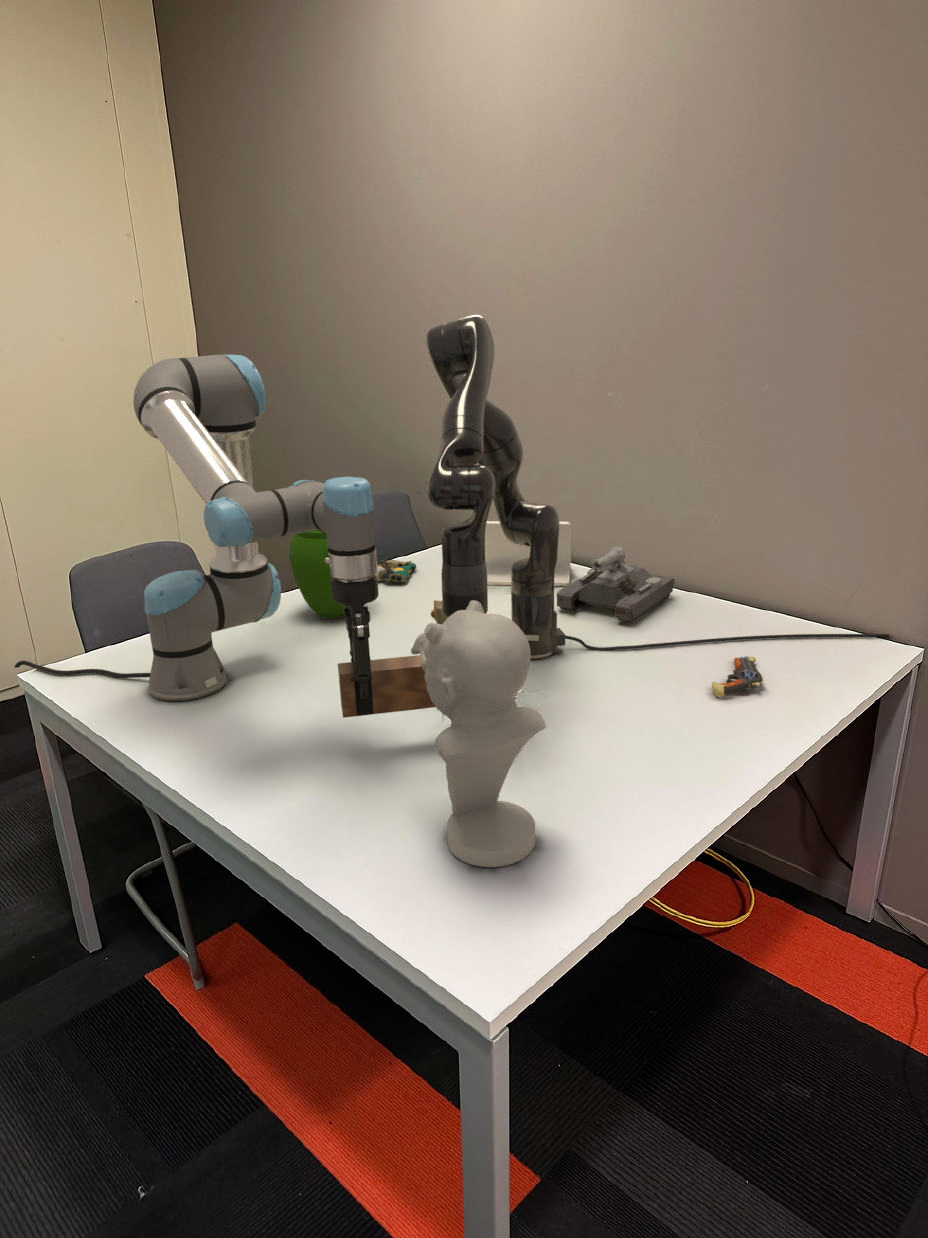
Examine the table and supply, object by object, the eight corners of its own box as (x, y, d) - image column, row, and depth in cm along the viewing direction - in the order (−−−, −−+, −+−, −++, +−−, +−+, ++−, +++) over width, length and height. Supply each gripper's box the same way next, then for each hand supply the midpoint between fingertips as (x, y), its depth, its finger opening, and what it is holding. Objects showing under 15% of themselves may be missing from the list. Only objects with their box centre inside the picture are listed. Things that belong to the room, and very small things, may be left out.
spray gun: (385, 567, 252) (430, 574, 246) (355, 580, 238) (402, 588, 232) (385, 553, 251) (430, 559, 245) (355, 565, 236) (402, 573, 230)
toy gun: (713, 687, 162) (768, 684, 160) (705, 654, 180) (754, 651, 178) (714, 700, 163) (769, 697, 161) (706, 666, 181) (755, 664, 179)
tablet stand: (569, 585, 229) (570, 524, 223) (476, 584, 232) (475, 523, 226) (570, 566, 246) (571, 508, 240) (484, 564, 249) (483, 507, 243)
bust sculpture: (481, 772, 140) (476, 569, 128) (565, 848, 120) (569, 617, 108) (392, 800, 134) (378, 588, 121) (465, 886, 114) (457, 642, 101)
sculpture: (458, 662, 183) (456, 596, 178) (460, 676, 176) (457, 608, 171) (431, 663, 183) (428, 597, 177) (431, 677, 176) (428, 609, 171)
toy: (603, 584, 229) (605, 530, 224) (673, 597, 218) (677, 540, 213) (555, 612, 210) (556, 553, 205) (630, 627, 199) (633, 566, 194)
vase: (389, 608, 216) (383, 514, 208) (339, 633, 201) (330, 533, 192) (330, 596, 226) (322, 506, 218) (278, 619, 211) (267, 523, 202)
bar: (485, 689, 151) (484, 648, 148) (491, 701, 146) (490, 659, 144) (341, 705, 146) (337, 663, 144) (343, 717, 142) (339, 674, 139)
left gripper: (327, 562, 144) (338, 687, 152) (333, 595, 128) (345, 733, 136) (371, 558, 145) (380, 682, 154) (383, 591, 129) (392, 728, 137)
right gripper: (496, 598, 135) (498, 695, 141) (477, 571, 148) (479, 661, 154) (450, 602, 134) (453, 700, 140) (435, 575, 147) (438, 666, 153)
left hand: (363, 706), depth 145 cm, fingers closed on bar, 5 cm apart
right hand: (467, 679), depth 147 cm, fingers closed on bar, 4 cm apart
